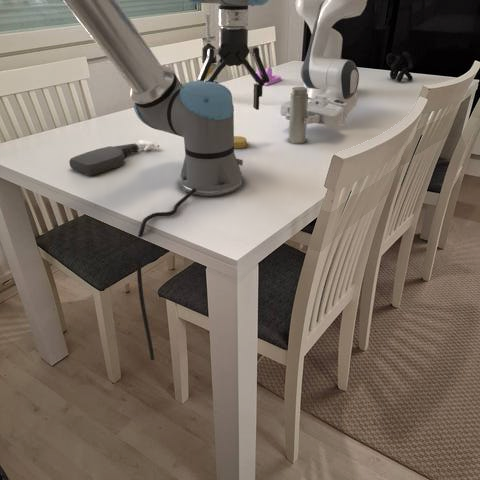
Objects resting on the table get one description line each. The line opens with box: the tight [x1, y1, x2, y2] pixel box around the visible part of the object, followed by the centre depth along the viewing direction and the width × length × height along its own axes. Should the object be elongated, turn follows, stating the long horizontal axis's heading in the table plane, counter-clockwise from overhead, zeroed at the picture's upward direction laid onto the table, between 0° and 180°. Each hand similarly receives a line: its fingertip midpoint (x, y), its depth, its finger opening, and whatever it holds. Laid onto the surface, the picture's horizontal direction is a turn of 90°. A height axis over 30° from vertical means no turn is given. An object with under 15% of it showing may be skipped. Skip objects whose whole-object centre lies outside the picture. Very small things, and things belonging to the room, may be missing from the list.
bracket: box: [256, 67, 282, 86], centre depth 200 cm, size 13×6×7 cm, turn 143°
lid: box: [234, 135, 248, 149], centre depth 133 cm, size 6×6×2 cm
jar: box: [288, 86, 309, 144], centre depth 132 cm, size 5×5×16 cm
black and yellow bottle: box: [201, 14, 219, 84], centre depth 171 cm, size 6×6×30 cm
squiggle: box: [385, 51, 414, 83], centre depth 198 cm, size 11×10×15 cm
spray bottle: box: [68, 139, 160, 177], centre depth 124 cm, size 3×11×24 cm
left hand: (233, 110), depth 127 cm, fingers open, 13 cm apart
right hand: (296, 119), depth 131 cm, fingers closed on jar, 5 cm apart
